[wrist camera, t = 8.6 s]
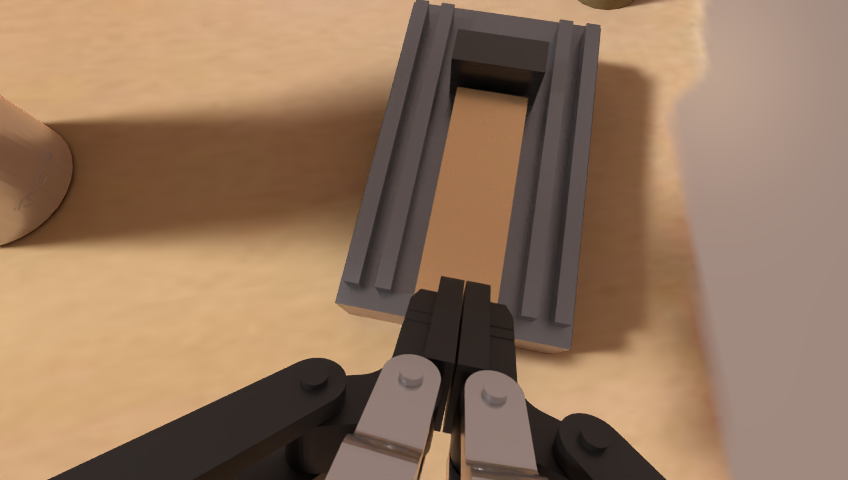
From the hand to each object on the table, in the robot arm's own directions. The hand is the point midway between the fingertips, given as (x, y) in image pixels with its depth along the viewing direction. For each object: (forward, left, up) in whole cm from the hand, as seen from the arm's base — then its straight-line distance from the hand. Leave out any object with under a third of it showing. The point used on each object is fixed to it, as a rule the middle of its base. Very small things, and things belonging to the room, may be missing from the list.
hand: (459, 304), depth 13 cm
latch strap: (0, +6, -9) cm, 11 cm away
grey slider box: (0, +10, -13) cm, 17 cm away
